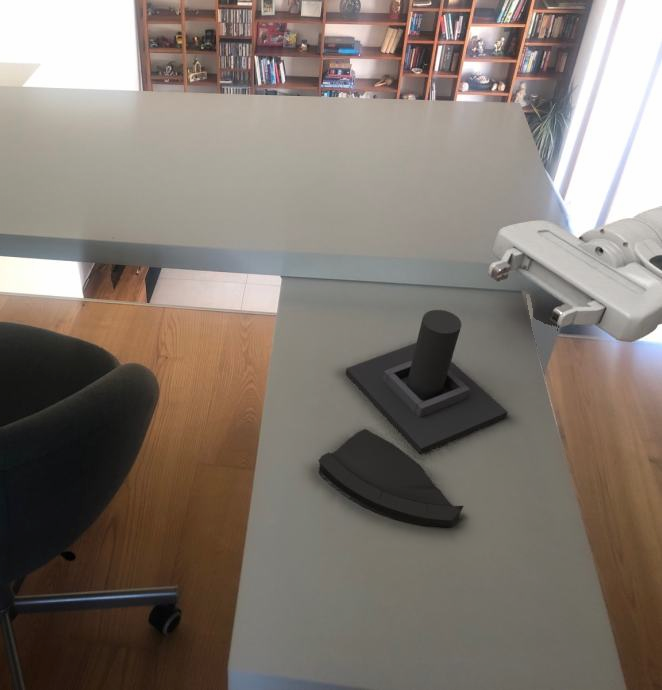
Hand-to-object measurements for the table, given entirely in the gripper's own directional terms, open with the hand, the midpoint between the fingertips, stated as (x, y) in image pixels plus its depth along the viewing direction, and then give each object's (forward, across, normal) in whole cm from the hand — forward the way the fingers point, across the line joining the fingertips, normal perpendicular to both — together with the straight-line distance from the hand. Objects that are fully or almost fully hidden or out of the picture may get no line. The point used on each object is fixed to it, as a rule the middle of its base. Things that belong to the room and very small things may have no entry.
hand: (523, 294), depth 77 cm
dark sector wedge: (+24, +8, +11) cm, 27 cm away
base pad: (+12, 0, +11) cm, 16 cm away
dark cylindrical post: (+12, 0, +10) cm, 15 cm away
